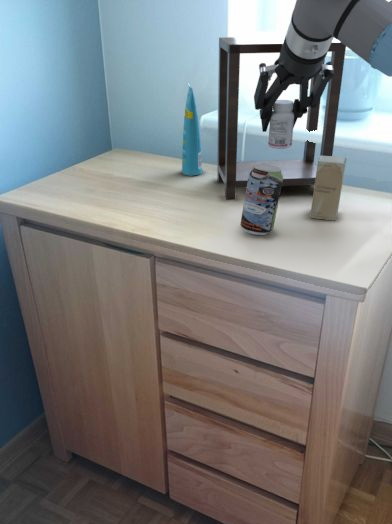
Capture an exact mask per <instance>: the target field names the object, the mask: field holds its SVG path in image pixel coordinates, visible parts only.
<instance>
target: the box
mask: <svg viewBox="0 0 392 524" xmlns="http://www.w3.org/2000/svg"><path fill="white" fill-rule="evenodd" d="M347 159H348V158H347V157H346V156H345V157H344V156H333V155H332V156H320V155H319V157H318V160H317V163H316V164H317V171H316V178H315V185H313V186H314V187H313V193H312V201H311V209H310V215H309V218H311V219H318V220H325V221H336V220H337V217H338V212H339V209H340V208H339V207H340V201H341V195H342V188H343V182H344V176H345V172H346V164H347V161H348V160H347Z"/></svg>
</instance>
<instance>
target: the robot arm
mask: <svg viewBox="0 0 392 524" xmlns="http://www.w3.org/2000/svg"><path fill="white" fill-rule="evenodd" d="M286 28H287V29H286V32H285V38H284V42H283V45H282V48H281V51H280V53H279V56H278V58H277V59H276V60H275V61H274V64H271V65H267V64H266V63H265V62H261V63H260V64H259V65H258V69H259V76H258V79H257V84H256V87H255V90H254V91H255V92H254V94H253V100H254V101H253V102H254V103H253V104H254V109H255V110H256V111H258V110H259V118H260V121H261V131H262V132H263V133H266V132H267V130H268V129H269V125H270V119H271V116H272V113H273V108H272V106H273V105H274V103H275V102H276V100H279V98H280V96H281V95H282V93H283V92H284V91H286V90H287V89H288V88H289V87H290V86H291V85H298V86H299V95H298V96H299V98H295V99H294V101H293V110H292V112H293V113H294V124H293V129H294V128H295V125H296V123H297V120H298V119H301V118H302V117H303V115H305V114H306V115H307V114H308V107H310V106H311V108H315V107H317V105H318V103H319V101H320V102H321V100H320V98H322V96H323V94H324V91H325V90H326V87H327V86H328V82H329V81H330V80H331V79H332V78H333V77H334V69H333V63H332V62H331V60H330V61H327V62H326V63H324V64H323V62H324V60H325V61H326V57H327V55H328V49H329V47H330V45H331V43H332V40H333V38H334V39H337V40H339V41H340V42H341V43H343V44H344V45H345V46H346V48H348V49H349V50H350V51H352V53H354V54H356V55H357V56H358V57H359V58H360V59H362V60H363V61H365V62H366V63H367V64H368V65H370V67H371V68H372V69H374V70H377V71H379V72H380V73H382V74H384V75H385V76H386V77H390V78H391V77H392V0H390V1H388V0H295V4H294V7H293V10H292V13H291V17H290V20H289V23H288V25H287V27H286ZM274 74H275V75H276V78H275V79H274V80H273V82H272V83H271V85H269V82H270V81H271V80H272V79H271V78H272V77H273V75H274ZM317 74H318V76H317V78H316V81H315V83H314V85H313V88H312V90H311V92H310V91H309V88H310V85H309V84H310V81H311V78H313V77H314V76H316V75H317ZM268 87H269V88H268ZM309 94H310V95H309ZM308 95H309V96H308Z"/></svg>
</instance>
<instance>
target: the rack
mask: <svg viewBox="0 0 392 524" xmlns="http://www.w3.org/2000/svg"><path fill="white" fill-rule="evenodd" d="M285 36H286V35H285ZM285 36H284V35H283V36H282V35H281V36H280V35H279V36H234V37H233V36H229V37H226V36H225V37H223V36H222V37H218V79H217V80H218V83H217V84H218V85H217V86H218V89H217V91H218V94H217V155H216V156H217V161H216V163H217V164H216V167H217V168H216V172H217V173H216V180H217V183H218V184H219V183H223V184H224V198H225V201H233V200H234V201H235V200H236V195H237V193H236V192H237V190H236V189H240V188H241V189H242V188H243V189H244V188H247V183H248V177H249V173H250V171H251V170H252V169H253V167H254V165H255V164H264V165H271V166H275V167H278V168H280V169H281V170H282V171H281V173H282V175H283V182H282V187H290V186H291V187H293V186H312V185H313V186H314V185H315V178H316V171H317V164H318V163H316V162H315V155H316V154H315V153H316V145H317V142H316V143H313V142H309V141H308V140H307V141H306V142H305V141H304V145H303V146H304V147H303V155H302V156H303V157H302V159H279V160H256V161H255V160H253V161H237V160H238V159H237V158H238V130H239V129H238V128H239V127H238V126H239V99H240V98H239V96H240V95H239V94H240V69H241V68H240V66H241V65H240V63H241V54H280V51H281V48H282V45H283V42H284V38H285ZM346 49H347V46H345V45H344V44H343V43H341V42H340V41H339V40H337V39H336V38H333V40H332V43H331V45H330V47H329V49H328V52H329V53H330V52H331V56H330V61H331V62H332V63H333V69H334V77H333V78H332V79H331V80H330V81H329V82H328V83H327V90H326V91H327V92H326V99H325V100H326V101H325V108H324V117H323V126H322V135H321V136H322V137H321V143H320V144H321V146H320V153H319V157H320V156H333V154H334V153H333V152H334V145H335V138H336V131H337V130H336V129H337V121H338V113H339V106H340V96H341V90H342V81H343V74H344V73H343V72H344V66H345V59H346ZM328 52H327V53H328ZM325 62H326V59H325V60H324V62H323V64H326V63H325ZM317 76H318V74H317V75H316V76H314V77H313V78H311V79H310V83H309V84H310V85H309V93H308V95H310V92H311V90H312V88H313V85H314V83H315V81H316V78H317ZM321 98H322V97H321ZM321 98H320V101H319V103H318V105H317V107H315V108H311V106H310V107H307V111H308V112H307V114H306V127H305V130H306V129H307V130H308V131H309V132H310V131H313V130H314V131H315V130H317V131H318V127H319V117H320V109H321V108H320V107H321Z"/></svg>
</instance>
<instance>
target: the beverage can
mask: <svg viewBox="0 0 392 524" xmlns="http://www.w3.org/2000/svg"><path fill="white" fill-rule="evenodd" d="M281 171H282V170H281V169H280V168H278V167H275V166H271V165H264V164H255V165H254V167H253V169H252V170H251V171H250V173H249V177H248V183H247V187H246V190H245V195H244V201H243V207H242V213H241V219H240V227H241V228H243V231H245V232H246V233H249V234H252V235H257V236H265V235H268V234H269V233H271V232H273V230H274V226H275V222H276V217H277V213H278V212H277V211H278V207H279V202H280V196H281V193H282V187H283V186H282V182H283V175H282V173H281Z"/></svg>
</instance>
